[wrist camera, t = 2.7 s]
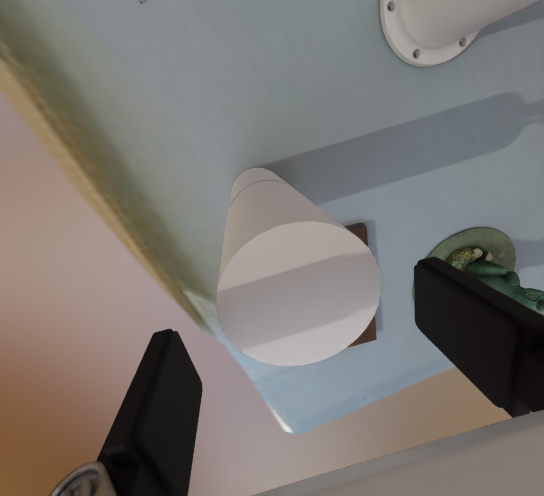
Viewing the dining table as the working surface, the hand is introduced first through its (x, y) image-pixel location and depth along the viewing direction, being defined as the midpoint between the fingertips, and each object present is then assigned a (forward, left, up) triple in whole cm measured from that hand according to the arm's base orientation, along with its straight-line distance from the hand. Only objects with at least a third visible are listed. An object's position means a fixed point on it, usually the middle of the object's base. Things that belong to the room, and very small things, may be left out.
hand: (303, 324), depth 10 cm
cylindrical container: (0, 0, -26) cm, 26 cm away
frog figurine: (-30, +22, -26) cm, 46 cm away
